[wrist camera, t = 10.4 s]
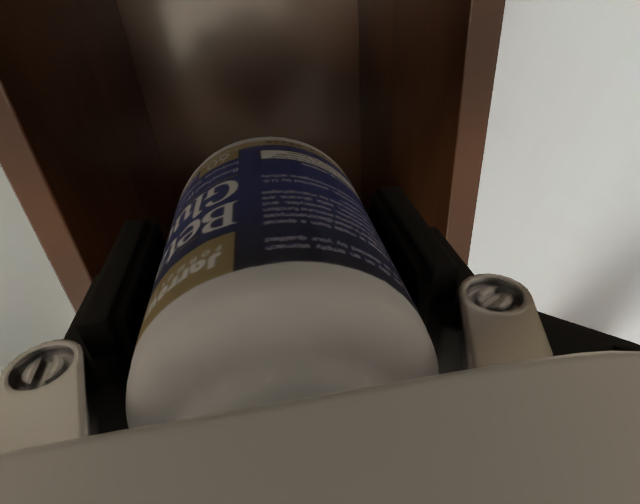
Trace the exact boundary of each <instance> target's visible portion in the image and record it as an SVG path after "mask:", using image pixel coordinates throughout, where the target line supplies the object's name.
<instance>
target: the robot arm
mask: <svg viewBox="0 0 640 504" xmlns="http://www.w3.org/2000/svg"><path fill="white" fill-rule="evenodd" d="M369 217H370V219H371V221H372V223H373V225H374V227H375V229H376V231H377V233H378V235H379V237H380V239H381V240H382V242H383V244H384V246H385V248H386V250H387V252H388V254H389V256H390V258H391V260H392V262H393V264H394V266H395V268H396V270H397V272H398V273H399V275H400V277H401V279H402V281H403V283H404V285H405V287H406V289H407V291H408V293H409V295H410V296H411V298H412V300H413V302H414V304H415V305H416V307H417V309H418V311H419V313H420V316H421V318H422V321H423V323H424V325H425V327H426V330H427V332H428V334H429V336H430V338H431V341H432V343H433V346H434V349H435V353H436V357H437V361H438V367H439V374H438V375H432V376H426V377H420V378H414V379H408V380H403V381H397V382H391V383H385V384H379V385H373V386H367V387H361V388H355V389H350V390H344V391H338V392H333V393H327V394H321V395H315V396H310V397H304V398H298V399H292V400H287V401H281V402H275V403H270V404H264V405H258V406H253V407H247V408H241V409H236V410H230V411H224V412H219V413H213V414H207V415H202V416H196V417H191V418H185V419H180V420H174V421H169V422H163V423H158V424H152V425H146V426H141V427H135V428H130V429H129V427H128V423H127V417H126V389H127V380H128V376H129V371H130V367H131V361H132V357H133V353H134V349H135V345H136V342H137V339H138V336H139V333H140V329H141V326H142V322H143V319H144V315H145V312H146V309H147V306H148V303H149V299H150V296H151V293H152V289H153V286H154V283H155V279H156V276H157V273H158V270H159V266H160V263H161V259H162V256H163V252H164V249H165V245H166V244H165V240H164V237H163V234H162V231H161V228H160V226H159V224H158V223H152V222H151V221H150V220H149V219H140V220H132V221H125V223H124V224H123V226H122V228H121V231H120V233H119V235H118V237H117V239H116V241H115V243H114V245H113V247H112V249H111V251H110V253H109V255H108V257H107V259H106V261H105V263H104V265H103V267H102V270H101V272H100V274H99V275H96V277H95V278H94V279H93V281H92V283H91V285H90V287H89V289H88V291H87V293H86V295H85V297H84V299H83V301H82V303H81V305H80V307H79V309H78V311H77V313H76V315H75V317H74V319H73V321H72V323H71V325H70V327H69V329H68V331H67V333H66V335H65V337H64V339H60V340H52V341H49V342H45V343H42V344H39V345H37V346H35V347H32V348H30V349H29V350H27V351H25V352H24V353H22V354H20V355H19V356H18V357H16V358H15V359H14V360H13V361H12V362H11V363H9V364H8V366H7V367H6V368H5V370H4V371H3V372H2V374H1V376H0V504H640V345H638V344H636V343H633V342H630V341H627V340H624V339H621V338H618V337H615V336H611V335H608V334H605V333H602V332H599V331H596V330H593V329H590V328H587V327H584V326H581V325H578V324H575V323H571V322H568V321H565V320H562V319H559V318H556V317H553V316H550V315H547V314H544V313H541V312H538V311H537V309H536V307H535V304H534V301H533V298H532V296H531V294H530V293H529V291H528V289H527V288H525V287H524V286H523V285H522V284H521V283H519V282H517V281H515V280H513V279H511V278H508V277H505V276H502V275H496V274H478V275H474V274H473V273H472V271H471V270H470V269H469V268H468V266H467V265H466V264H465V263H464V261H463V260H462V259H461V258H460V256H459V255H458V254H457V252H456V251H455V250H454V249H453V247H452V246H451V245H450V244H449V242H448V241H447V240H446V239H445V237H444V236H443V235H442V233H441V232H440V231H439V230H438V229H437V228H436V227H429V225H428V224H427V223H426V221H425V220H424V219H423V217H422V216H421V215H420V213H419V212H418V211H417V210H416V208H415V207H414V206H413V204H412V203H411V202H410V200H409V199H408V198H407V196H406V195H405V194H404V192H403V191H402V190H401V188H400V187H399V186H398V185H396V186H388V187H381V188H377V189H376V193H375V194H370V197H369Z"/></svg>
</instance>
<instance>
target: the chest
mask: <svg viewBox="0 0 640 504" xmlns="http://www.w3.org/2000/svg"><path fill="white" fill-rule="evenodd" d="M504 7H505V0H0V165H1V167H2V169H3V171H4V173H5V175H6V177H7V179H8V181H9V183H10V185H11V187H12V189H13V191H14V193H15V194H16V196H17V198H18V200H19V202H20V204H21V206H22V208H23V210H24V212H25V214H26V216H27V218H28V220H29V222H30V224H31V226H32V228H33V230H34V232H35V234H36V236H37V238H38V240H39V242H40V244H41V246H42V248H43V250H44V252H45V253H46V255H47V257H48V259H49V261H50V263H51V265H52V267H53V269H54V271H55V273H56V275H57V277H58V279H59V281H60V283H61V285H62V287H63V289H64V291H65V293H66V295H67V297H68V299H69V301H70V303H71V305H72V307H73V309H74V311H75V312H76V313H77V311H78V309H79V307H80V305H81V303H82V301H83V299H84V297H85V295H86V293H87V291H88V289H89V287H90V285H91V283H92V281H93V279H94V278H95V277H96V275H99V274H100V272H101V270H102V267H103V265H104V263H105V261H106V259H107V257H108V255H109V253H110V251H111V249H112V247H113V245H114V243H115V241H116V239H117V237H118V235H119V233H120V231H121V228H122V226H123V224H124V223H125V221H132V220H140V219H149V220H150V221H151V222H152V223H158V224H159V226H160V228H161V231H162V234H163V237H164V240H165V244H166V242H167V239H168V236H169V232H170V229H171V226H172V222H173V219H174V216H175V212H176V209H177V205H178V203H179V200H180V197H181V194H182V192H183V190H184V188H185V186H186V184H187V182H188V181H189V179H190V177H191V176H192V175H193V173H194V172H195V170H196V169H197V168H198V167H199V166H200V165H201V164H202V163H203V162H204V161H205V160H206V159H207V158H208V157H210V156H211V155H212V154H214V153H215V152H217V151H218V150H220V149H222V148H224V147H226V146H228V145H230V144H233V143H235V142H238V141H241V140H246V139H250V138H257V137H283V138H288V139H293V140H297V141H300V142H303V143H306V144H308V145H311V146H313V147H315V148H317V149H318V150H320V151H322V152H323V153H325V154H326V155H327V156H329V157H330V158H331V159H332V160H333V161H334V162H335V163H336V164H337V165H338V166H339V167H340V168H341V169H342V171H343V172H344V173H345V175H346V176H347V177H348V179H349V180H350V182H351V184H352V185H353V187H354V189H355V191H356V192H357V195H358V197H359V198H360V200H361V202H362V204H363V206H364V208H365V210H366V212H367V214H368V216H369V197H370V194H375V193H376V189H377V188H381V187H388V186H396V185H398V186H399V187H400V188H401V190H402V191H403V192H404V194H405V195H406V196H407V198H408V199H409V200H410V202H411V203H412V204H413V206H414V207H415V208H416V210H417V211H418V212H419V213H420V215H421V216H422V217H423V219H424V220H425V221H426V223H427V224H428V225H429V227H436V228H437V229H438V230H439V231H440V232H441V233H442V235H443V236H444V237H445V239H446V240H447V241H448V242H449V244H450V245H451V246H452V247H453V249H454V250H455V251H456V252H457V254H458V255H459V256H460V258H461V259H462V260H463V261H464V263H465V264H466V265H468V258H469V251H470V244H471V237H472V230H473V223H474V216H475V209H476V202H477V195H478V188H479V181H480V174H481V167H482V160H483V153H484V146H485V139H486V132H487V125H488V118H489V112H490V105H491V98H492V91H493V84H494V77H495V70H496V63H497V56H498V49H499V42H500V35H501V28H502V21H503V14H504Z"/></svg>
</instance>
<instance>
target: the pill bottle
mask: <svg viewBox="0 0 640 504" xmlns="http://www.w3.org/2000/svg"><path fill="white" fill-rule="evenodd" d="M438 374H439V367H438V361H437V357H436V353H435V349H434V346H433V343H432V341H431V338H430V336H429V334H428V332H427V330H426V327H425V325H424V323H423V321H422V318H421V316H420V313H419V311H418V309H417V307H416V305H415V304H414V302H413V300H412V298H411V296H410V295H409V293H408V291H407V289H406V287H405V285H404V283H403V281H402V279H401V277H400V275H399V273H398V272H397V270H396V268H395V266H394V264H393V262H392V260H391V258H390V256H389V254H388V252H387V250H386V248H385V246H384V244H383V242H382V240H381V239H380V237H379V235H378V233H377V231H376V229H375V227H374V225H373V223H372V221H371V219H370V217H369V216H368V214H367V212H366V210H365V208H364V206H363V204H362V202H361V200H360V198H359V197H358V195H357V192H356V191H355V189H354V187H353V185H352V184H351V182H350V180H349V179H348V177H347V176H346V175H345V173H344V172H343V171H342V169H341V168H340V167H339V166H338V165H337V164H336V163H335V162H334V161H333V160H332V159H331V158H330V157H329V156H327V155H326V154H325V153H323V152H322V151H320V150H318V149H317V148H315V147H313V146H311V145H308V144H306V143H303V142H300V141H297V140H293V139H288V138H283V137H257V138H250V139H246V140H241V141H238V142H235V143H233V144H230V145H228V146H226V147H224V148H222V149H220V150H218V151H217V152H215V153H214V154H212V155H211V156H210V157H208V158H207V159H206V160H205V161H204V162H203V163H202V164H201V165H200V166H199V167H198V168H197V169H196V170H195V172H194V173H193V175H192V176H191V177H190V179H189V181H188V182H187V184H186V186H185V188H184V190H183V192H182V194H181V197H180V200H179V203H178V205H177V209H176V212H175V216H174V219H173V222H172V226H171V229H170V232H169V236H168V239H167V242H166V245H165V249H164V252H163V256H162V259H161V263H160V266H159V270H158V273H157V276H156V279H155V283H154V286H153V289H152V293H151V296H150V299H149V303H148V306H147V309H146V312H145V315H144V319H143V322H142V326H141V329H140V333H139V336H138V339H137V342H136V345H135V349H134V353H133V357H132V361H131V367H130V371H129V376H128V380H127V389H126V417H127V423H128V427H129V429H130V428H135V427H141V426H146V425H152V424H158V423H163V422H169V421H174V420H180V419H185V418H191V417H196V416H202V415H207V414H213V413H219V412H224V411H230V410H236V409H241V408H247V407H253V406H258V405H264V404H270V403H275V402H281V401H287V400H292V399H298V398H304V397H310V396H315V395H321V394H327V393H333V392H338V391H344V390H350V389H355V388H361V387H367V386H373V385H379V384H385V383H391V382H397V381H403V380H408V379H414V378H420V377H426V376H432V375H438Z"/></svg>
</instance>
